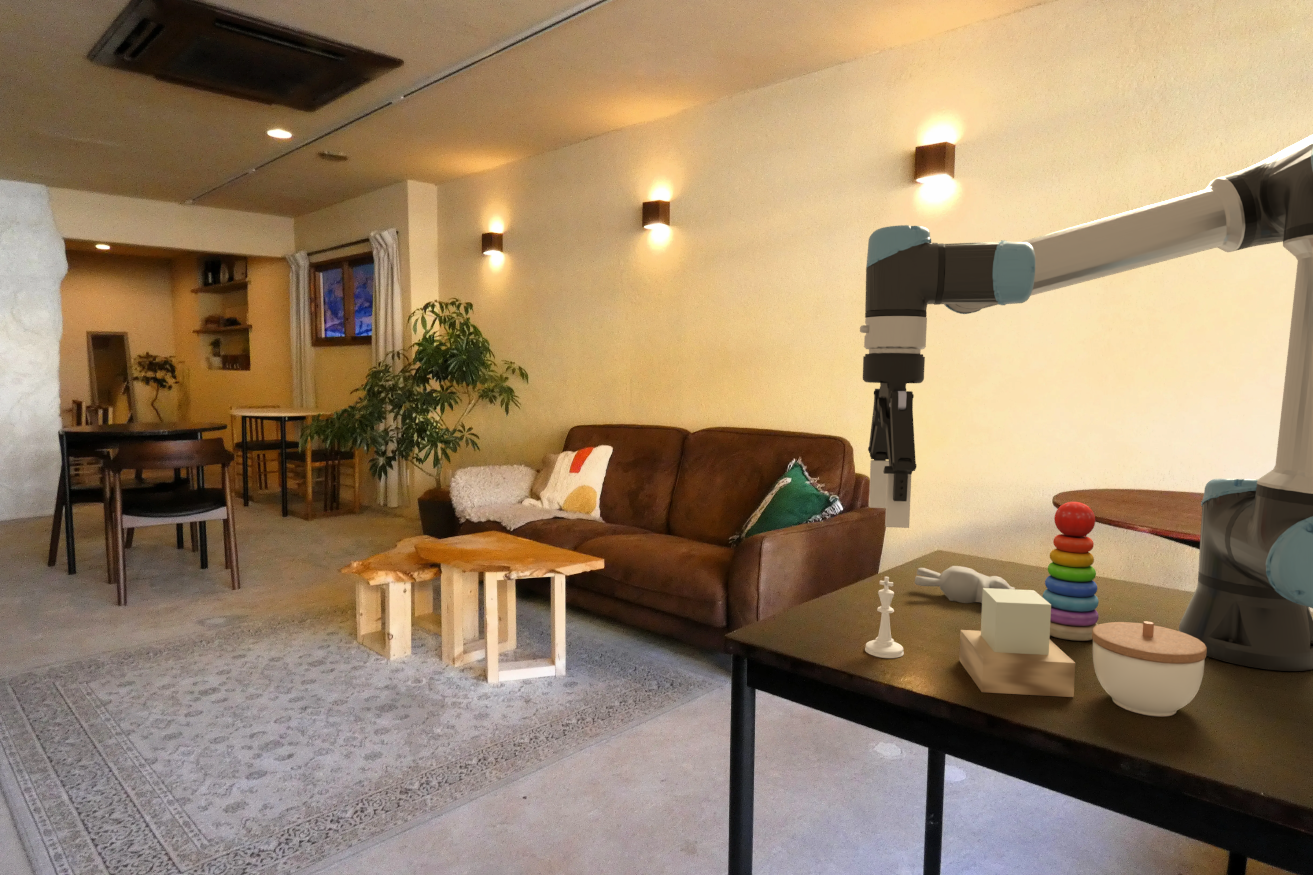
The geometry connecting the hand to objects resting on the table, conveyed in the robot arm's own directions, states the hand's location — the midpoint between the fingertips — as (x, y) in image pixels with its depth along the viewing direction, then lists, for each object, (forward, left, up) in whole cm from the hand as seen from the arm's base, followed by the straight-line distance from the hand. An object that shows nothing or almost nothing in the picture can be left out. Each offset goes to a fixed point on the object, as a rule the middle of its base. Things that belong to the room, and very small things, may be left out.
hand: (887, 516), depth 102 cm
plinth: (-14, +7, -18) cm, 24 cm away
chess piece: (0, 0, -18) cm, 18 cm away
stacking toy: (-27, -11, -18) cm, 34 cm away
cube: (-14, +7, -14) cm, 21 cm away
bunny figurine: (-17, -26, -18) cm, 36 cm away
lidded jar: (-26, +13, -18) cm, 34 cm away
